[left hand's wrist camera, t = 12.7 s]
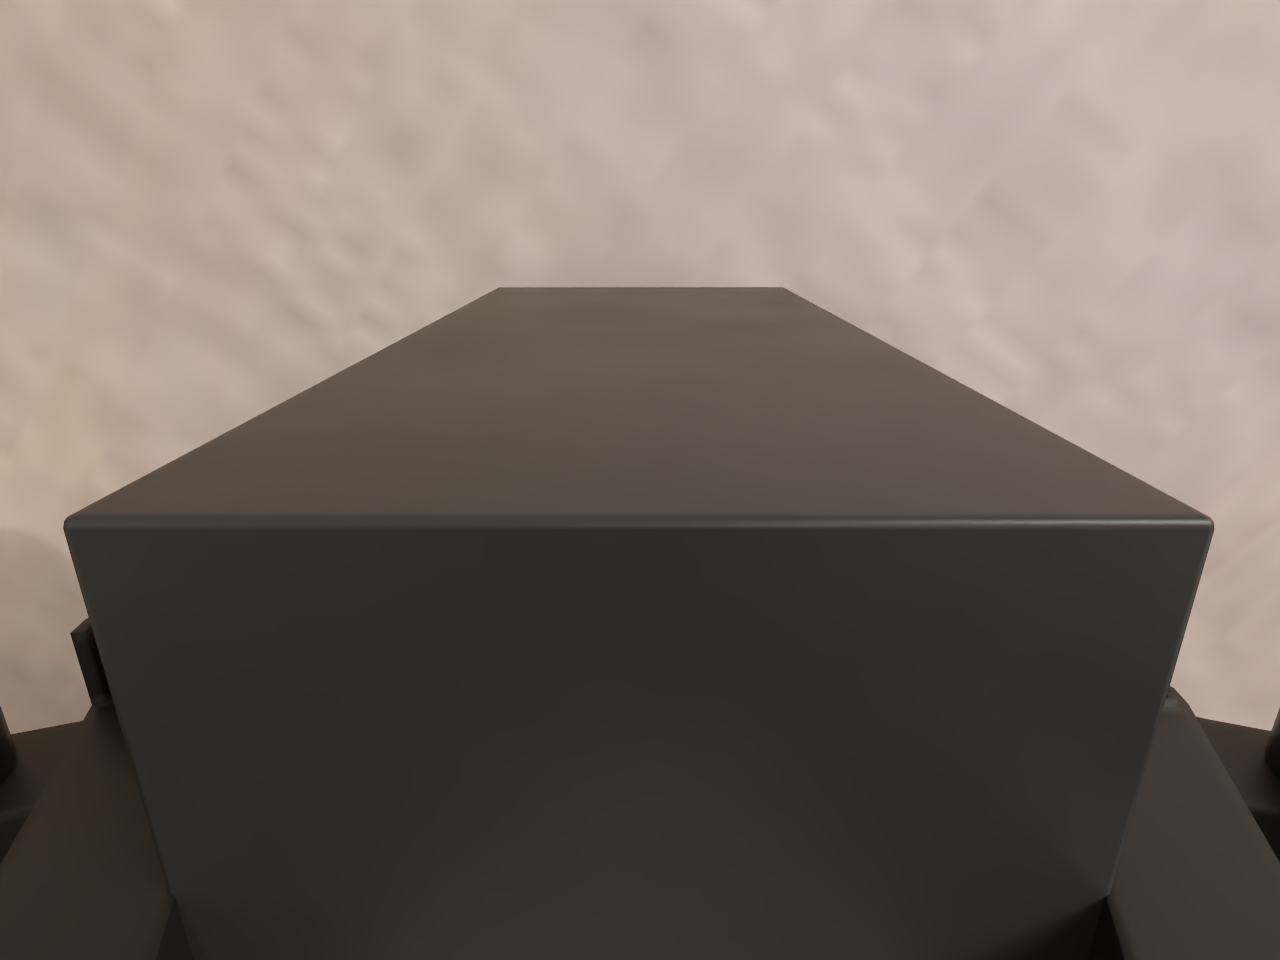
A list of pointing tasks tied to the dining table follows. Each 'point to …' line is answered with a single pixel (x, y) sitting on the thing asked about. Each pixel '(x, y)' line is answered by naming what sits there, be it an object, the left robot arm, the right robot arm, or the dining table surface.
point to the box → (639, 648)
